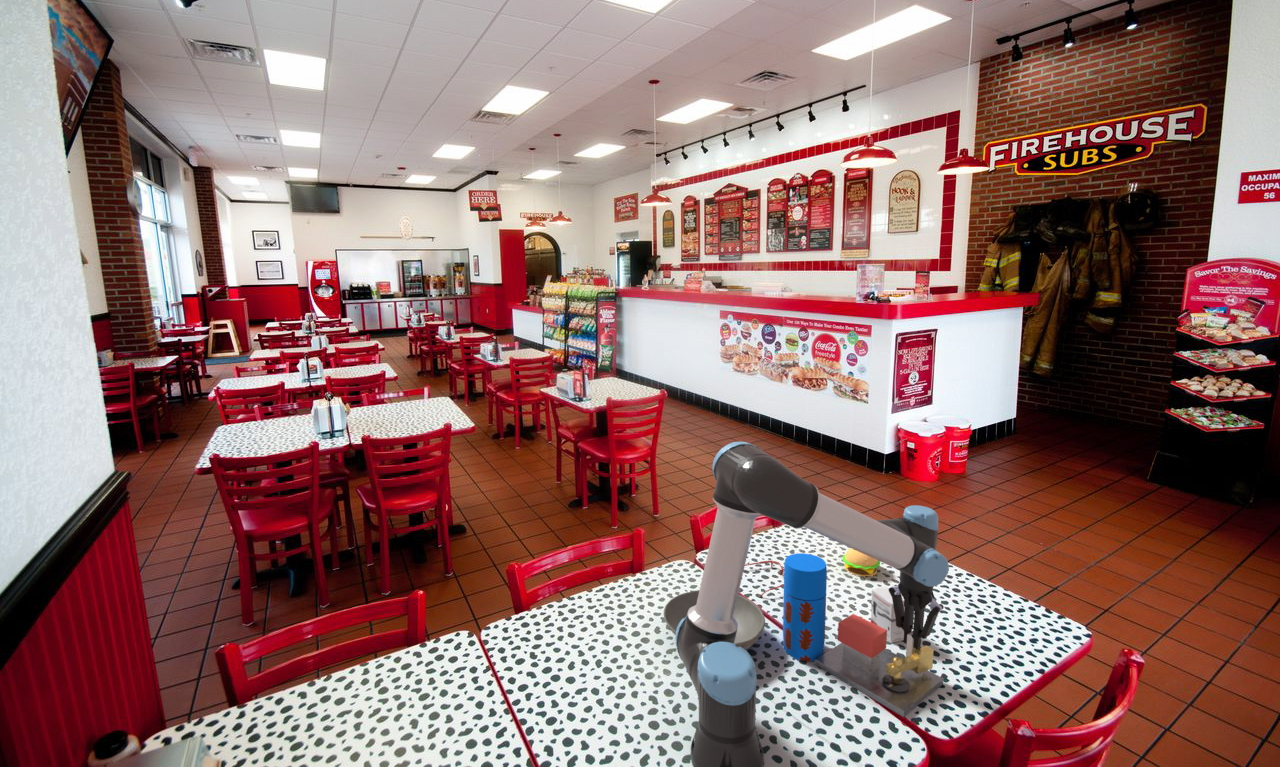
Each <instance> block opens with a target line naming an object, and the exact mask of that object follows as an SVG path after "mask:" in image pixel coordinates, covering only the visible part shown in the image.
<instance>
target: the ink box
mask: <svg viewBox="0 0 1280 767" xmlns="http://www.w3.org/2000/svg"><path fill="white" fill-rule="evenodd" d="M889 588H890V587H888V586H883V587H878V588H874V589H871V606H870V608H871V610H870V611H871V612H870V622H871V623H873V624H876V625H878V626H880V627H882V628H884V629H886V630H887V642H888V643H890V644H893V643H897V642H902V641H904V631H903V629H902V628H901V627H900V628H899V627H898V626H897V624H896V618H895V612H894V606H893V600H892V596H891V594H890V592H889ZM902 601H903V606H904V598H903V597H902ZM904 612H905V607H904Z"/></svg>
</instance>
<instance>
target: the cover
mask: <svg viewBox="0 0 1280 767" xmlns="http://www.w3.org/2000/svg"><path fill="white" fill-rule="evenodd" d="M837 641H838V642H840V643H843V644H845V645H847V646H849V647H851V648H853V649H855V650H856V651H858V652H860V653H862V654H864V655H866V656H868V657H870V658H873V657H874V656H876V655H877V654H879V653H880V652H882V651H883V650H885V649H887V642H888V641H887V630H886V629H884V628H882V627H880V626H878V625H876V624H873V623H871V621H869V620H867V619H865V618H864V617H861V616H859V615H857V614H854V613H852V614H850V615H848V616H847V617H845V618H844V619H842V620H840V621H839V622H838V625H837Z"/></svg>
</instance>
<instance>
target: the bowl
mask: <svg viewBox="0 0 1280 767" xmlns="http://www.w3.org/2000/svg"><path fill="white" fill-rule="evenodd" d="M699 590H700V589H699ZM699 590H698V589H697V590H692V591H687V592H683V593H680V594H679V595H676V596H674V597H673V598H671V599H669V601H668V602H667V603H666V604H665V606H664V608H663V618H664V622H665V624H666V625H667V626H668V628H669V630H670V632H672V633H673V635H674V636H675V635H676V630H677V627H678V625H679V623H680V621H681V620H682V619H683V618H685V617H686V615H687V613H688V610H689V609H690V608H691V607H693V606H695V605H696V604H697V599H698V595H699ZM733 617H734V618H735V620H736V621H737V623H738V628H737V632H736V637H735V641H734V644H736V647H742V648H743V649H745V650H746V651H747V650H748V649H749V648H751V647H752V646H753V645H754V644H755V643H757V641H758V640H759V638H760V637H761V635H762V633H763V631H764V629H765V626H766V618H765V615H764V612H763V611H762V609H761V608H760V607H759V606H758V605H757V604H756V603H755V602H753V601H752V600H750V599H748V598H747V597H744V596H743V595H741V594H738V597H737V601H736V606H735V610H734V614H733Z"/></svg>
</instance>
